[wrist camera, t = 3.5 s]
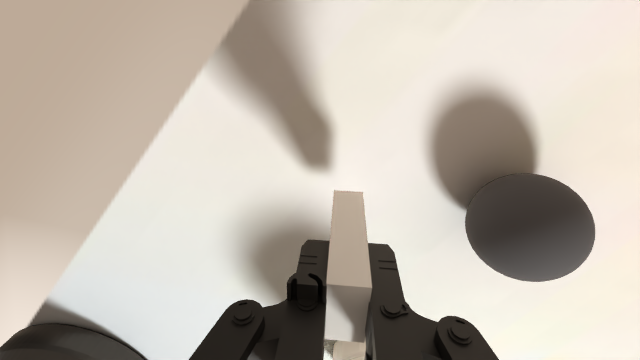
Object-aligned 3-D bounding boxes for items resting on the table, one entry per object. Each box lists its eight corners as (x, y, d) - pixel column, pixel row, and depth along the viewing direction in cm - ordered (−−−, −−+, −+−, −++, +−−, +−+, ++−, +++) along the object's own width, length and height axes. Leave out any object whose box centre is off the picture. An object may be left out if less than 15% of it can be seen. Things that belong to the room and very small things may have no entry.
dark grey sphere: (443, 234, 19) (477, 302, 15) (463, 155, 17) (512, 204, 12) (531, 239, 19) (596, 310, 14) (563, 160, 17) (655, 212, 12)
